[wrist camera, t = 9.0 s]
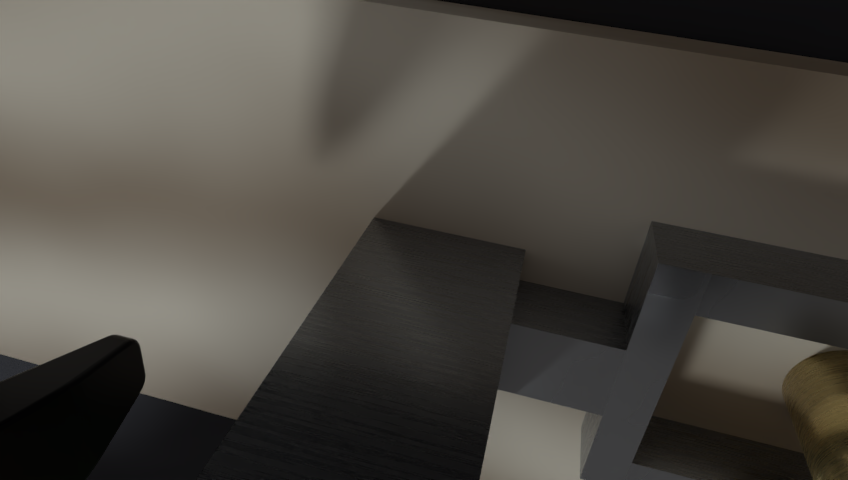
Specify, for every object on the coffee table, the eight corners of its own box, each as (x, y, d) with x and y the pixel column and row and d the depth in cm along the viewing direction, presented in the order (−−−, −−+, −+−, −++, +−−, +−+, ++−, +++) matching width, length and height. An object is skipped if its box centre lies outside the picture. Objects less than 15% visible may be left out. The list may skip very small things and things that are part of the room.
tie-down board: (944, 579, 14) (995, 683, 12) (-33, 316, 18) (-103, 363, 17) (1378, 143, 8) (1597, 216, 7) (-189, -95, 13) (-323, -92, 11)
